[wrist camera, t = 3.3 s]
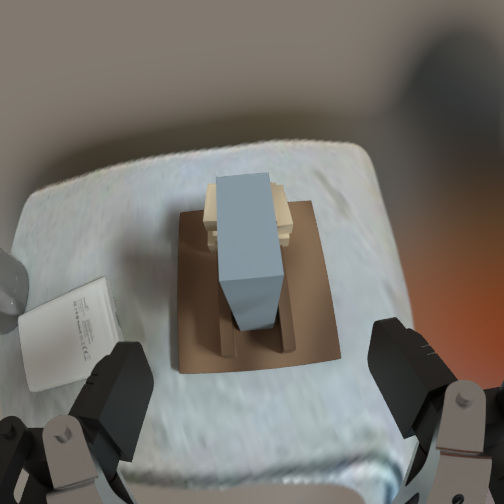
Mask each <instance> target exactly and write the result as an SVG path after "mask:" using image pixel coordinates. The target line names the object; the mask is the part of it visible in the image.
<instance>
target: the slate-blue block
mask: <svg viewBox="0 0 504 504" xmlns="http://www.w3.org/2000/svg"><path fill="white" fill-rule="evenodd" d="M216 203H217V240H218V266H219V282H220V284H221V287H222V289H223V291H224V294H225V296H226V298H227V301H228V303H229V305H230V308H231V310H232V312H233V315H234V317H235V319H236V322H237V324H238V326H239V328H240V331H248V330H259V329H270V328H273V326H274V322H275V317H276V312H277V307H278V302H279V298H280V293H281V288H282V283H283V277H284V272H283V265H282V258H281V251H280V244H279V237H278V230H277V224H276V217H275V211H274V204H273V198H272V192H271V186H270V180H269V173H256V174H245V175H234V176H224V177H216Z"/></svg>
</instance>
